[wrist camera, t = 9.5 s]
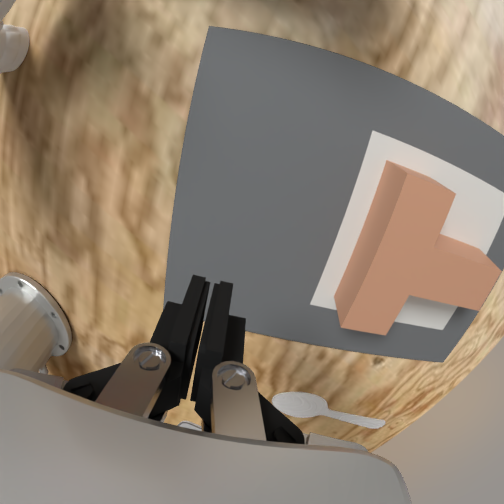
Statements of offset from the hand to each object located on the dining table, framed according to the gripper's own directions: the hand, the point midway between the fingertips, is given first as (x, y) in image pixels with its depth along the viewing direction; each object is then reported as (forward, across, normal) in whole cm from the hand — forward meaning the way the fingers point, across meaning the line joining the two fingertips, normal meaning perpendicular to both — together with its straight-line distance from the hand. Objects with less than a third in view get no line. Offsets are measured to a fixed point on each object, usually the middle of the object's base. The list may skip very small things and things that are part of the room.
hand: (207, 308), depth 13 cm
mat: (+11, -11, -1) cm, 16 cm away
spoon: (+12, -18, +23) cm, 31 cm away
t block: (+11, -16, -1) cm, 19 cm away
